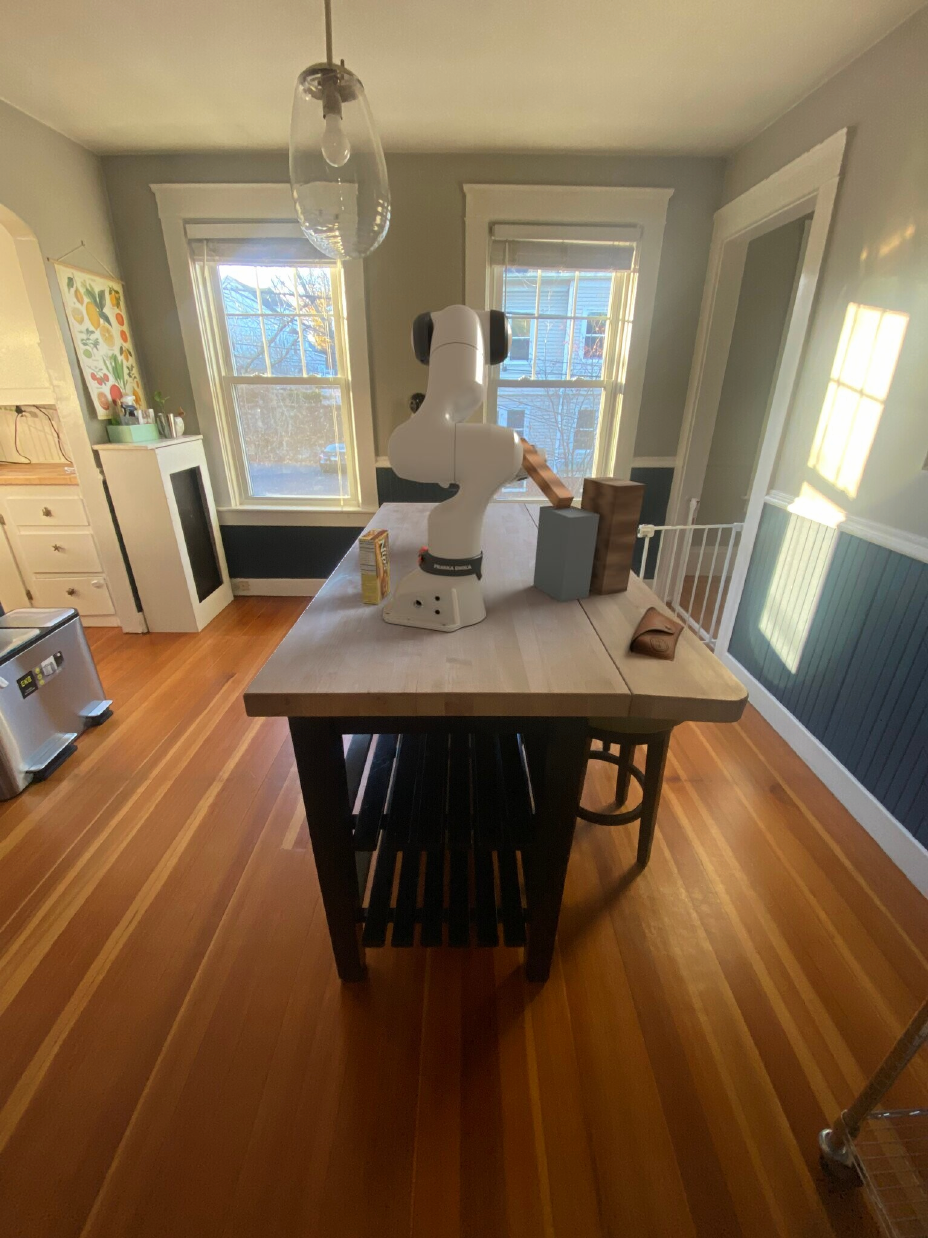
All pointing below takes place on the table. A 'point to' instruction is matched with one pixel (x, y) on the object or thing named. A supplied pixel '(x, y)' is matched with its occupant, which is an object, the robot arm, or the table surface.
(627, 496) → the tall stand
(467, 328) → the robot arm
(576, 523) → the low stand
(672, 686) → the table surface
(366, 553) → the candy box
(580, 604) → the table surface
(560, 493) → the bar
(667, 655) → the sunglasses case
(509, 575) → the table surface
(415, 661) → the table surface
